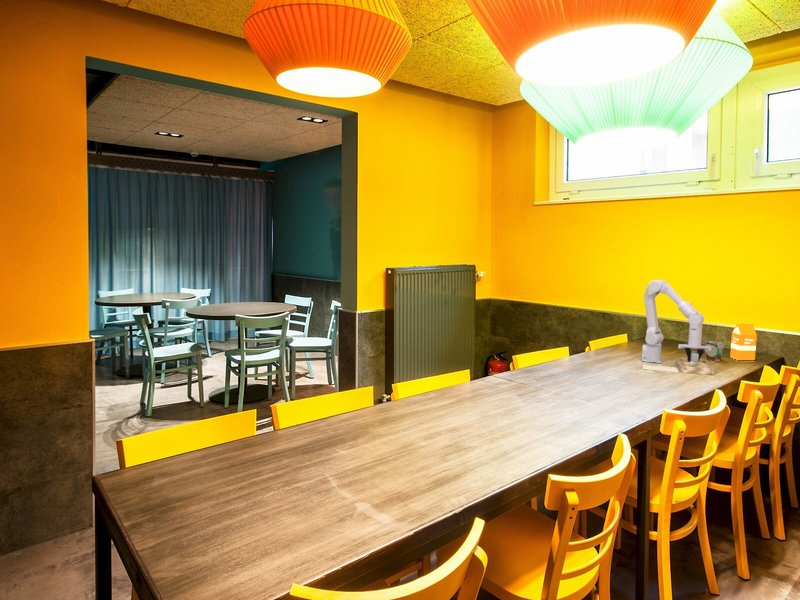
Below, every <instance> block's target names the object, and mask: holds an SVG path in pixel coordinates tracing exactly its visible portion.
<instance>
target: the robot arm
mask: <svg viewBox="0 0 800 600" xmlns="http://www.w3.org/2000/svg"><path fill="white" fill-rule="evenodd" d="M659 294H664V295H666V296H667V297H669V298H670V299H671V300H672V301H673V302H674V303H675V304H676V305H677V306H678V308H677V309H678V311H680V312H681V314H682V315H683V316H684V317H685V318H686V319H687V321H688V322H687V323H688V324H689V327H688V328H689V329H688V341H687V342H688V343H684V344H683V343H682V344H680V343H678V345H677V349H684V351H685V353H686V356H687V359H688V362H690V356H691V351H692V350H696V352H697V353H698V354H699V357H698V362H699V360H701V358H702V356H703V354H704V353H705V350H709V351H711V346H706V345H702V337H703V335H702V334H703V323H704V321H705V316H704V314H702V313H700V312H699V311H698V310H696V308H695V307H693V304H692V303H691V302H689V301H684V300H683V298H681V296H680V295H679V294H678V293H677V292H676V291H675V290H674V289H673V287H672V286H671V285H670V283H668V282H667V281H666V280H665V279H655V280H654V279H653V280H651V281H650V282H649V283H647V285H646V289H645V292H644V293H643V299H644V300H643V301H644V306H645V307H644V308H645V316H646V324H647V329H646V332H645V333H646V335H645V338H644V340H645V342H646V343H645V344H642V348H641V356H640V357H641V362H643V361H644V363H654V362H655V364H658V363H659V364H662V363H663V362H662V359H661V358H662V343H663V341H664V339H665V338H664V335H663V333H662V331H661V330H662V329H661V328H660V326H659V319H658V314H657V313H658V311H657V304H656V298H657V296H658V295H659Z"/></svg>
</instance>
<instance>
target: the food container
mask: <svg viewBox="0 0 800 600" xmlns="http://www.w3.org/2000/svg"><path fill="white" fill-rule="evenodd" d="M704 344H705V346H711V351H709V350H704V353H705V358H707V359H710V360H712V361H715V362H718V363H720V362H719V361H721V360H722V355H723V350H724V348H725V344H724V342H720V341H715V340H714V341H713V340H705V342H704ZM707 359H706V360H707ZM710 360H709V361H710ZM712 361H711V362H712ZM715 362H714V363H715Z"/></svg>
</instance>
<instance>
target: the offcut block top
mask: <svg viewBox="0 0 800 600" xmlns="http://www.w3.org/2000/svg"><path fill="white" fill-rule="evenodd" d="M701 365H702V364H701V362H690V367H700V368H701Z"/></svg>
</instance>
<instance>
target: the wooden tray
mask: <svg viewBox="0 0 800 600" xmlns="http://www.w3.org/2000/svg"><path fill="white" fill-rule="evenodd" d="M699 362H701V364H702V365H701V367H704V368H700V367H688V366H690V362H688V357H687V358H685V357H675V365H676V364H677V365H676V366H678V367H677V369H678V368H679V369H678V371H679V372H680V373H682V372H684V373H685V374H694V373H695V374H696V375H705V374H714V373H715V369H714V367H713V366H712V365H711V364H710V362H709V360H707V359H700V360H699ZM714 375H715V374H714Z"/></svg>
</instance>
